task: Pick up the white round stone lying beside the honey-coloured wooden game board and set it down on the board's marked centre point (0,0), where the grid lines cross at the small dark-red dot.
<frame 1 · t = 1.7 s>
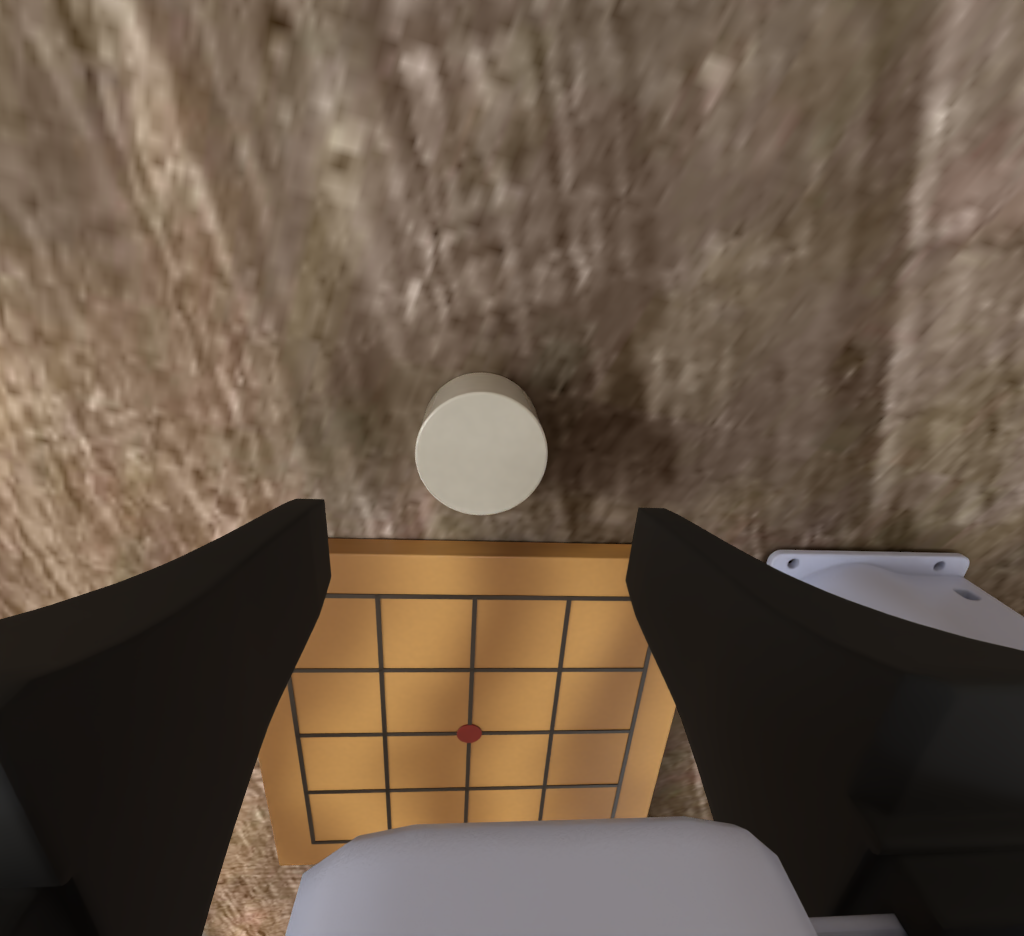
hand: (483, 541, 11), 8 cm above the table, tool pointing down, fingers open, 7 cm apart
white stone: (481, 428, 19), on the table
game board: (469, 711, 25), on the table
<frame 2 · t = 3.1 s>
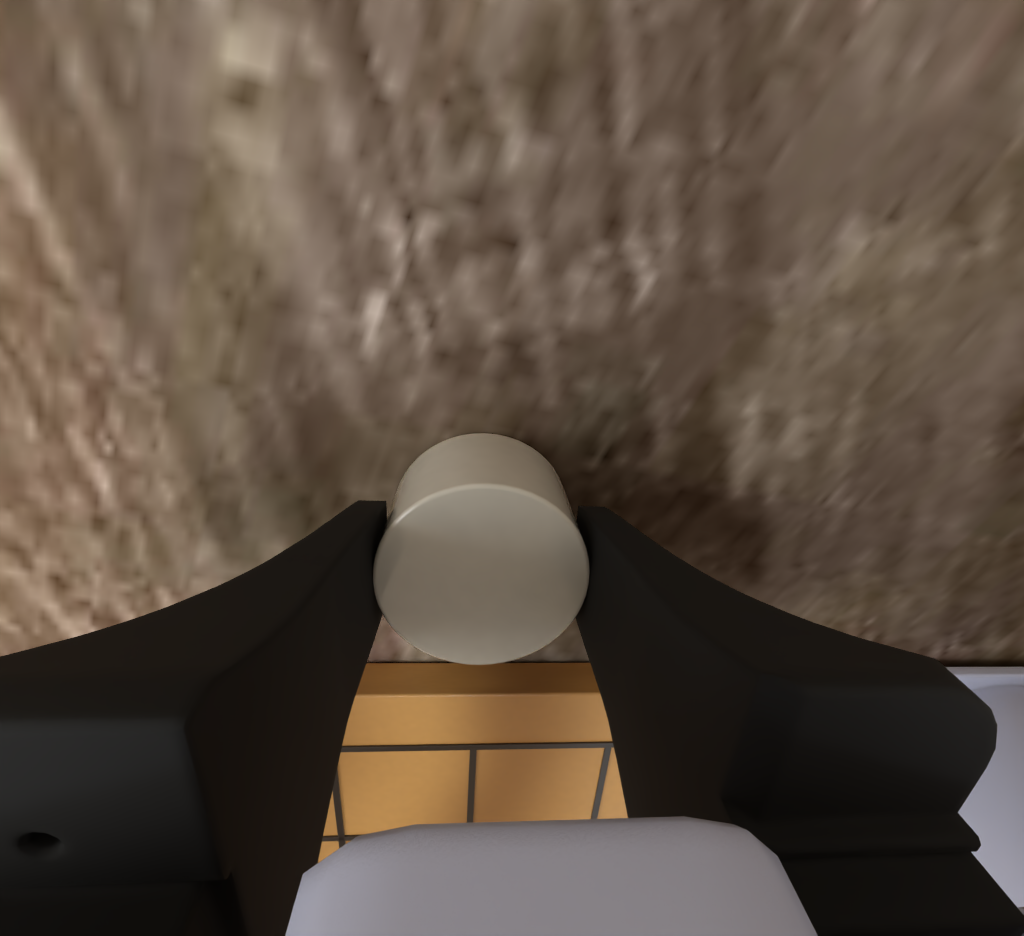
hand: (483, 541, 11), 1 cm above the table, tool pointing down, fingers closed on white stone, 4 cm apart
white stone: (481, 512, 13), on the table, touching gripper
game board: (466, 866, 18), on the table
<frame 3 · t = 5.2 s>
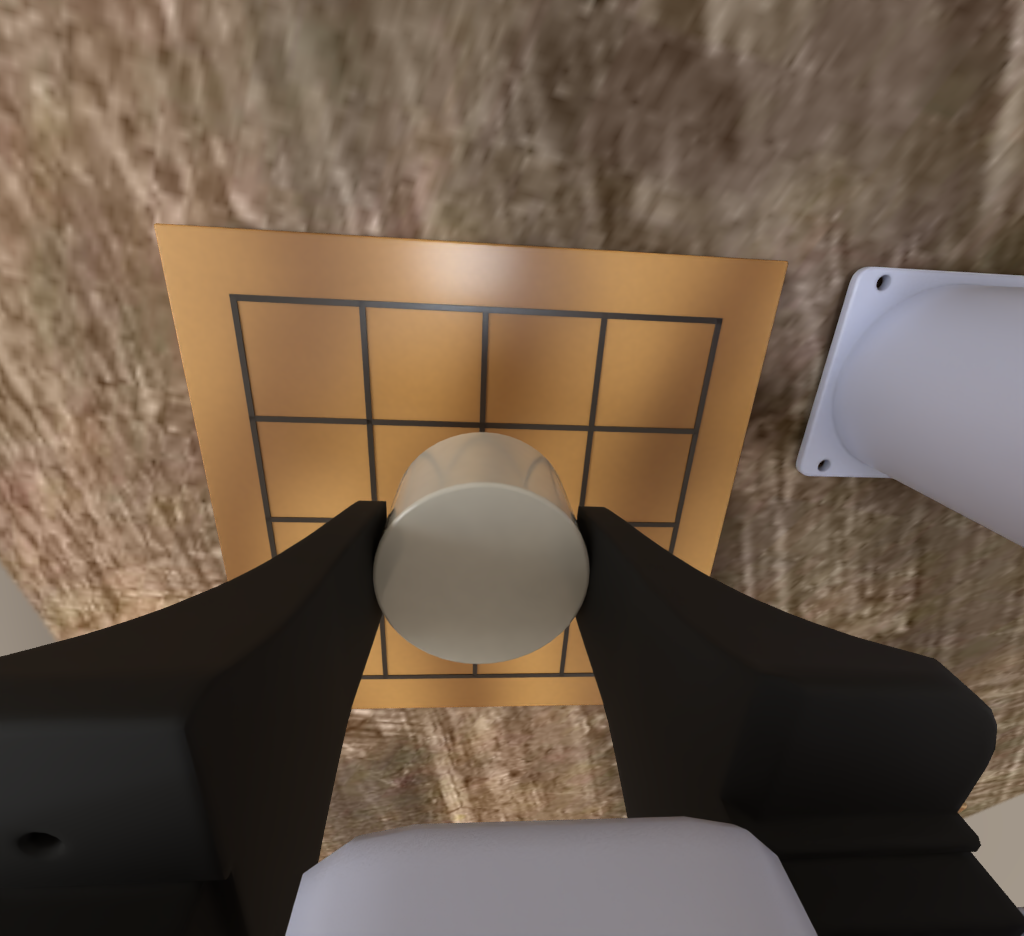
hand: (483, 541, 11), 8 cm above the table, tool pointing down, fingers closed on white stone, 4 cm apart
white stone: (481, 512, 13), point 7 cm above the table, touching gripper
game board: (479, 507, 20), on the table
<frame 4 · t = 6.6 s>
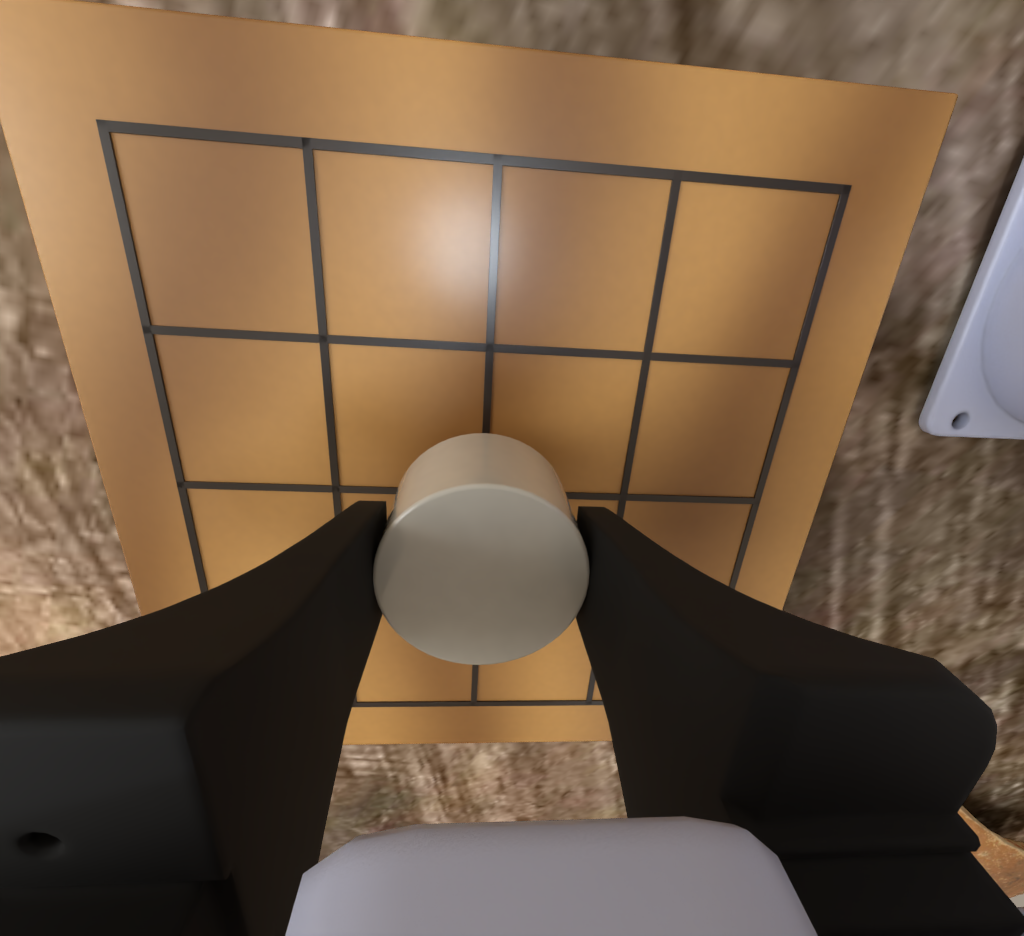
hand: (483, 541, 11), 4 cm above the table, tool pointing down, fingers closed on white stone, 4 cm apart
white stone: (481, 512, 13), point 2 cm above the table, touching gripper
pottery shard: (913, 839, 24), on the table
game board: (482, 475, 15), on the table
when the fingers open (3 cm above the table, at t = 7.4 s): white stone stays where it is, resting on game board.
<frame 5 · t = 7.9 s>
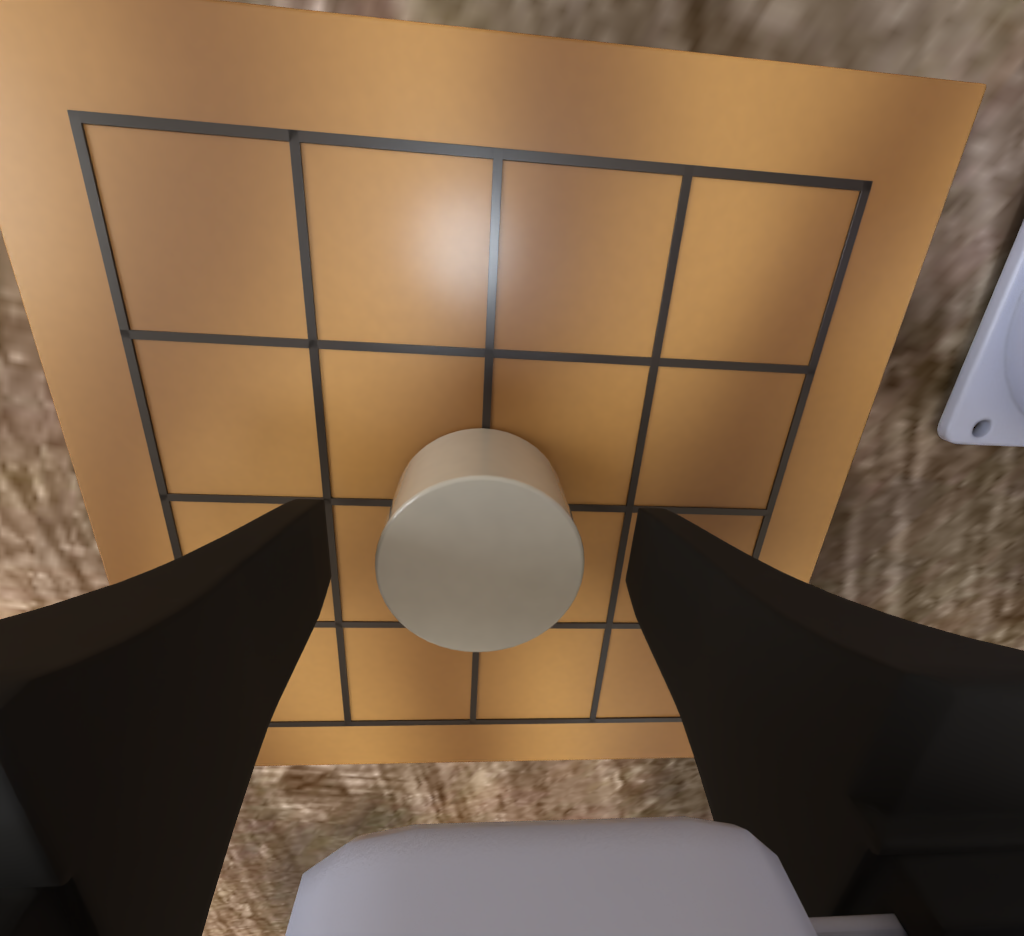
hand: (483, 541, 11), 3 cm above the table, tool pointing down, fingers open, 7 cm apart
white stone: (480, 506, 13), point 1 cm above the table, touching game board
game board: (481, 485, 14), on the table
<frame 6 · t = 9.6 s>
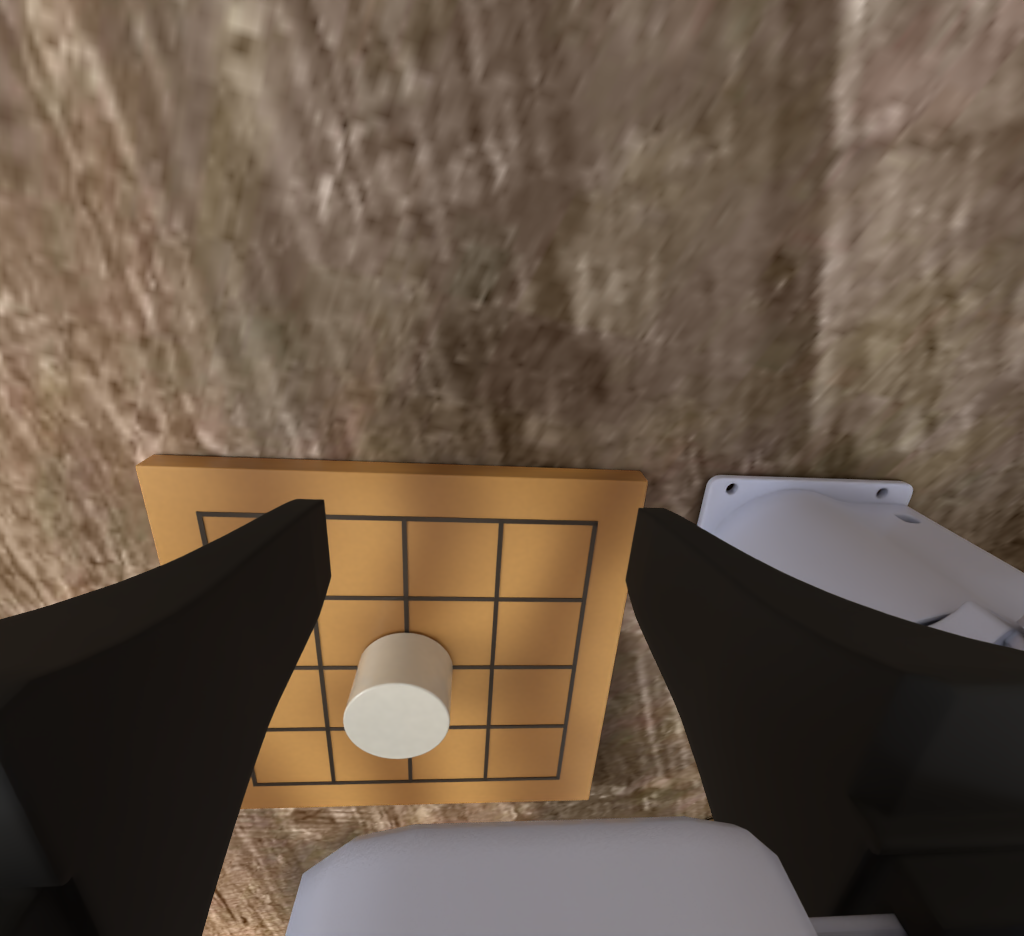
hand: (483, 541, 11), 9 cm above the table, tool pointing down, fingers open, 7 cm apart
white stone: (406, 668, 23), point 1 cm above the table, touching game board
game board: (410, 648, 24), on the table
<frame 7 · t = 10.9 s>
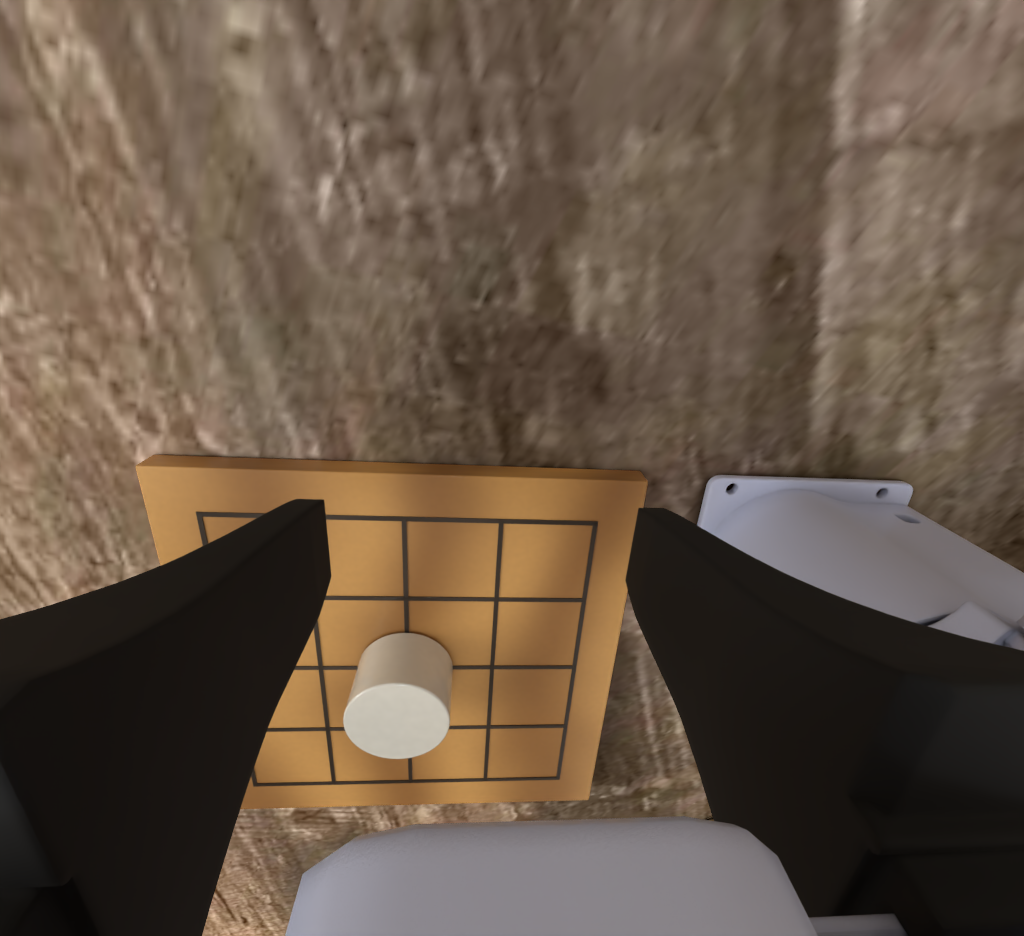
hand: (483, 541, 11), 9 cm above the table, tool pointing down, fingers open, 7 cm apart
white stone: (406, 668, 23), point 1 cm above the table, touching game board
game board: (410, 648, 24), on the table
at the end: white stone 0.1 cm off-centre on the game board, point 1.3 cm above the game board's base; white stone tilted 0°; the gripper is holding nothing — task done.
